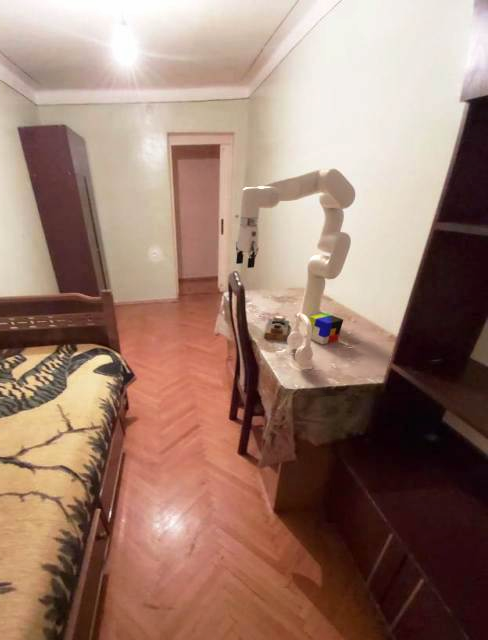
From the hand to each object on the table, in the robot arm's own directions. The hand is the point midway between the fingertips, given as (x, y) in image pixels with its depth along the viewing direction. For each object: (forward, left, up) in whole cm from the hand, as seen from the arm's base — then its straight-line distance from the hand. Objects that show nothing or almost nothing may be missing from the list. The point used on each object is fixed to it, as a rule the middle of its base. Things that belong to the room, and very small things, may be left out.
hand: (244, 265), depth 143 cm
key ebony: (-19, +3, -26) cm, 32 cm away
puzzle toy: (-40, 0, -31) cm, 50 cm away
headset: (-29, +25, -31) cm, 49 cm away
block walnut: (-19, +3, -30) cm, 36 cm away
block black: (-19, -9, -30) cm, 36 cm away
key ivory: (-18, -9, -27) cm, 34 cm away
